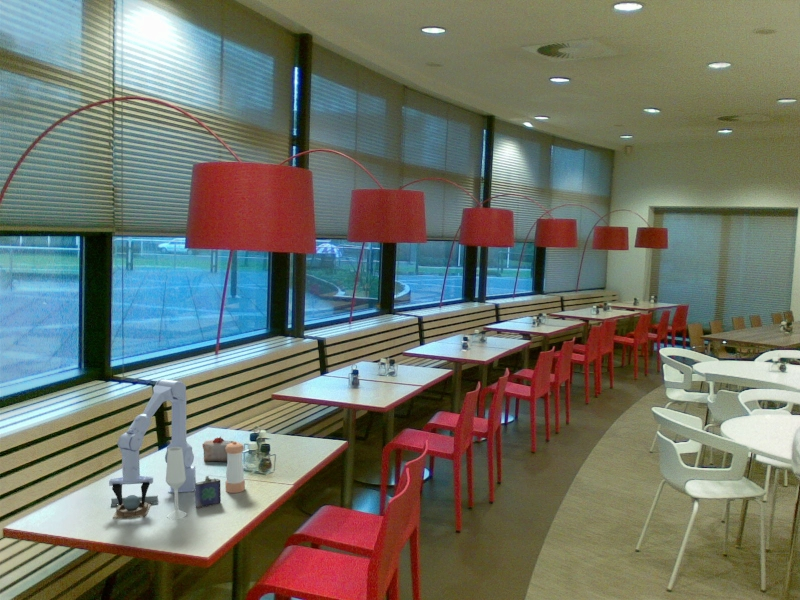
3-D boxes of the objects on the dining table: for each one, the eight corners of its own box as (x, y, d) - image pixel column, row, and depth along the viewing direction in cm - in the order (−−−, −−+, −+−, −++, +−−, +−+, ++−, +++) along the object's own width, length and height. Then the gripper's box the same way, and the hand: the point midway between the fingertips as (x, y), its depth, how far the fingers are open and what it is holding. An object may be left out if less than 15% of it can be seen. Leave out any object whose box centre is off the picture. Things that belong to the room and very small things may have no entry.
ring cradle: (151, 504, 260) (150, 499, 259) (145, 516, 249) (145, 511, 249) (119, 506, 258) (119, 501, 257) (112, 518, 247) (112, 513, 247)
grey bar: (158, 500, 263) (158, 494, 263) (157, 503, 260) (156, 497, 260) (112, 503, 261) (112, 496, 260) (110, 506, 258) (110, 499, 257)
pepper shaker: (248, 489, 275) (247, 441, 273) (232, 494, 270) (231, 445, 268) (237, 484, 280) (237, 437, 278) (221, 489, 275) (220, 441, 273)
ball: (141, 506, 256) (140, 491, 256) (139, 512, 251) (137, 497, 250) (125, 508, 255) (124, 493, 255) (122, 514, 250) (121, 499, 249)
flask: (196, 508, 256) (195, 479, 255) (194, 506, 259) (193, 477, 258) (221, 503, 261) (221, 475, 260) (219, 501, 263) (218, 473, 262)
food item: (200, 462, 307) (200, 440, 306) (206, 456, 315) (206, 434, 314) (231, 463, 306) (231, 441, 305) (237, 457, 314) (236, 435, 313)
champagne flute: (163, 514, 251) (162, 448, 248) (182, 510, 255) (181, 444, 252) (170, 520, 245) (168, 453, 243) (189, 516, 250) (188, 449, 247)
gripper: (106, 471, 246) (108, 509, 248) (150, 469, 249) (151, 506, 250) (111, 464, 253) (112, 501, 255) (153, 462, 256) (154, 499, 257)
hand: (132, 503), depth 253 cm, fingers open, 7 cm apart
